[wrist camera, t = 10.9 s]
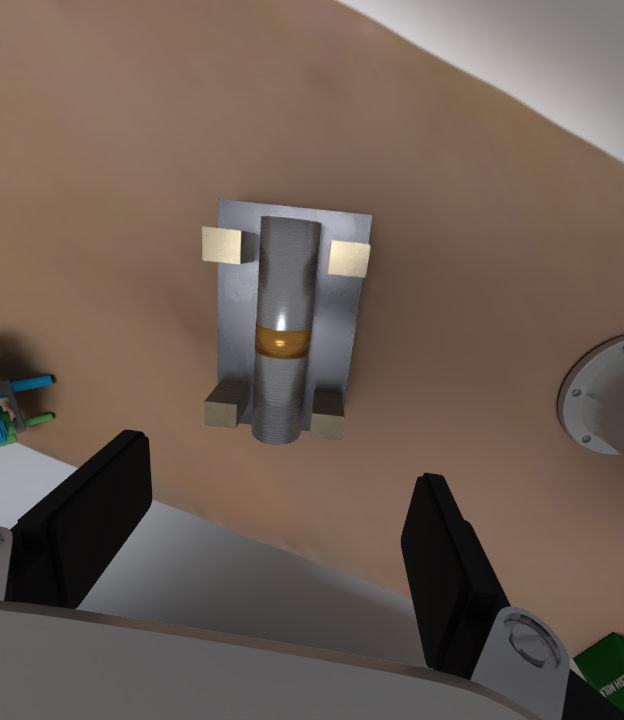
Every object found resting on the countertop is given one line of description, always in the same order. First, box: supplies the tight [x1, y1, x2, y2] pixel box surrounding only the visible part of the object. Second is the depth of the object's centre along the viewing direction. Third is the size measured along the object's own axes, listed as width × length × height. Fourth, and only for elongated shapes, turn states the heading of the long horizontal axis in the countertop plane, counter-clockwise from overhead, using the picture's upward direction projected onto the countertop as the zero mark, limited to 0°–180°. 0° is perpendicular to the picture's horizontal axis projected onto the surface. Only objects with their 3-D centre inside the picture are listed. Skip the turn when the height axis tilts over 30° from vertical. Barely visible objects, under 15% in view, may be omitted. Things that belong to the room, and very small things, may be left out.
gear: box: [0, 375, 53, 447], centre depth 32 cm, size 11×6×10 cm
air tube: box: [252, 216, 322, 445], centre depth 24 cm, size 16×4×4 cm, turn 174°
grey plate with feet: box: [202, 199, 372, 440], centre depth 26 cm, size 11×18×9 cm, turn 174°
